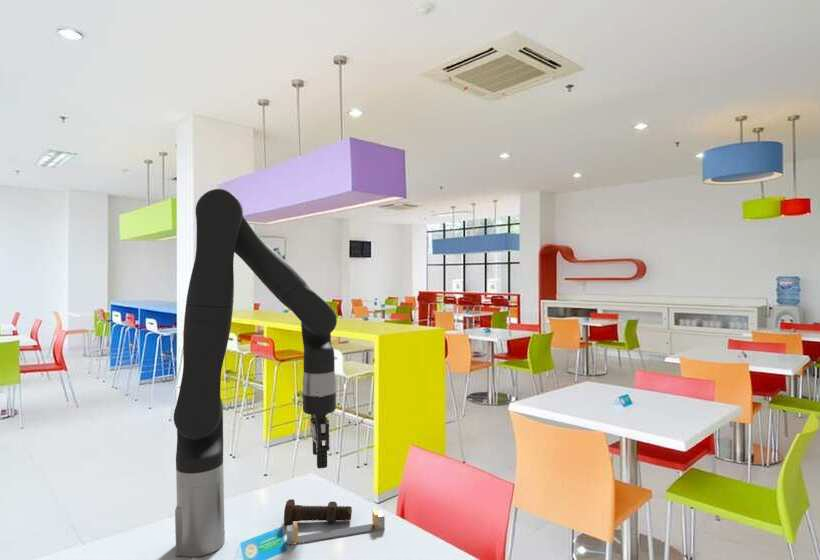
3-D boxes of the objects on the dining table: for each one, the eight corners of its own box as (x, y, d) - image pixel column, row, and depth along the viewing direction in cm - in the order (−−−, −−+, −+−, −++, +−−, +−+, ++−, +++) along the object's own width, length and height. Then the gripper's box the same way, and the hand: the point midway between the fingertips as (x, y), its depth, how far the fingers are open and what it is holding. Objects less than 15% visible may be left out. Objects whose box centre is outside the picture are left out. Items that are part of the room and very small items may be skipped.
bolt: (350, 531, 116) (285, 530, 115) (352, 511, 120) (289, 510, 120) (350, 515, 113) (282, 515, 112) (352, 495, 117) (287, 495, 117)
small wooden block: (375, 530, 112) (374, 515, 112) (372, 525, 114) (372, 510, 114) (384, 529, 113) (384, 513, 113) (381, 523, 115) (381, 508, 115)
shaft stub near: (287, 545, 106) (287, 529, 106) (286, 539, 109) (286, 523, 109) (298, 543, 107) (297, 527, 107) (297, 537, 109) (296, 521, 109)
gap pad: (298, 544, 107) (298, 542, 107) (297, 537, 110) (297, 536, 110) (374, 531, 112) (374, 529, 112) (371, 525, 114) (371, 523, 114)
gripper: (299, 385, 121) (300, 451, 121) (305, 399, 108) (306, 474, 108) (331, 382, 123) (331, 448, 124) (340, 396, 110) (341, 470, 110)
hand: (319, 460), depth 116 cm, fingers open, 8 cm apart
